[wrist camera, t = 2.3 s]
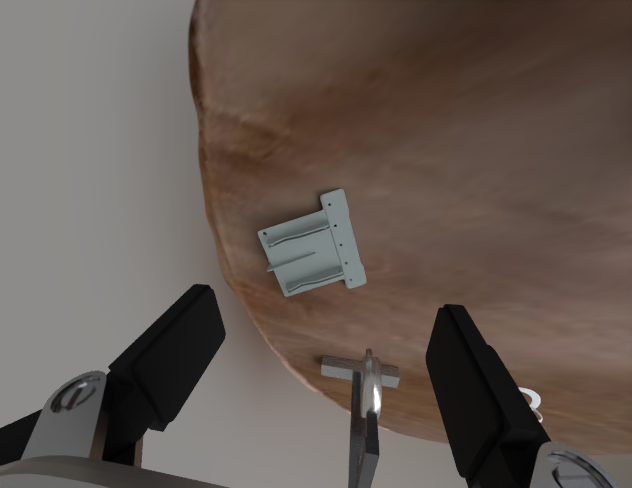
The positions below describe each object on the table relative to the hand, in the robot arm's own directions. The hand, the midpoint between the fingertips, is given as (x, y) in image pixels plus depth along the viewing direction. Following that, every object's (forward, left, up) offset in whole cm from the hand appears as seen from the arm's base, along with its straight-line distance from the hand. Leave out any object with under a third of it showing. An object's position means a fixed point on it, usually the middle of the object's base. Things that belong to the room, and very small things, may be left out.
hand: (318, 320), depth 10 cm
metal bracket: (+9, -4, -23) cm, 25 cm away
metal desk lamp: (+25, +4, -22) cm, 34 cm away
